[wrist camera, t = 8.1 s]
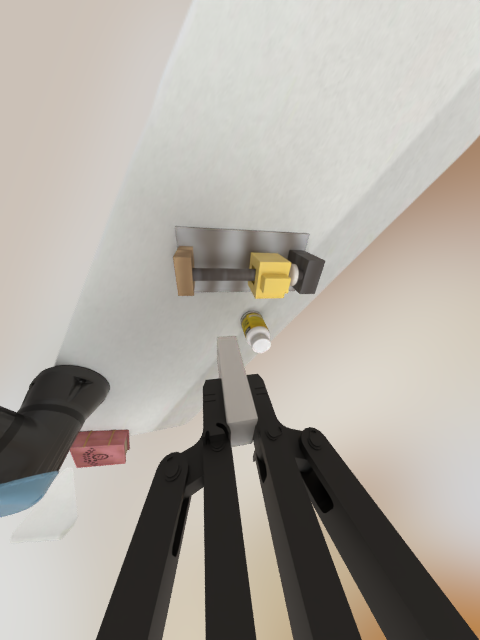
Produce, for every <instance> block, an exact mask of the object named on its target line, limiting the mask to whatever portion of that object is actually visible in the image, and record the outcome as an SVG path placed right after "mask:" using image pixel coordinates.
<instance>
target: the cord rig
mask: <svg viewBox="0 0 480 640" xmlns="http://www.w3.org/2000/svg"><path fill="white" fill-rule="evenodd" d="M175 231H176V239H177V248H178V249H177V251H176V253H175V255H174V256H173V260H174V268H175V275H176V282H177V289H178V296H194V292H251V290H250V288H249V286H248V281H255V274H256V269H249V266H250V256H251V252H253V253H278V254H279V255H281V256H282V257H284V258H285V259H287V260H288V261H290V262H291V267H290V271H289V277H290V278H291V282H290V286H289V290H288V291H295V290H296V291H297V292H298V293H299V294H315V291H316V288H317V285H318V282H319V279H320V276H321V273H322V270H323V267H324V264H325V260H323V259H320V258H318V257H316V256H314V255H312V254H310V253H308V252H306V251H305V250H306V246H307V242H308V238H309V234H303V233H285V232H267V231H249V230H230V229H212V228H194V227H176V226H175Z"/></svg>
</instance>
